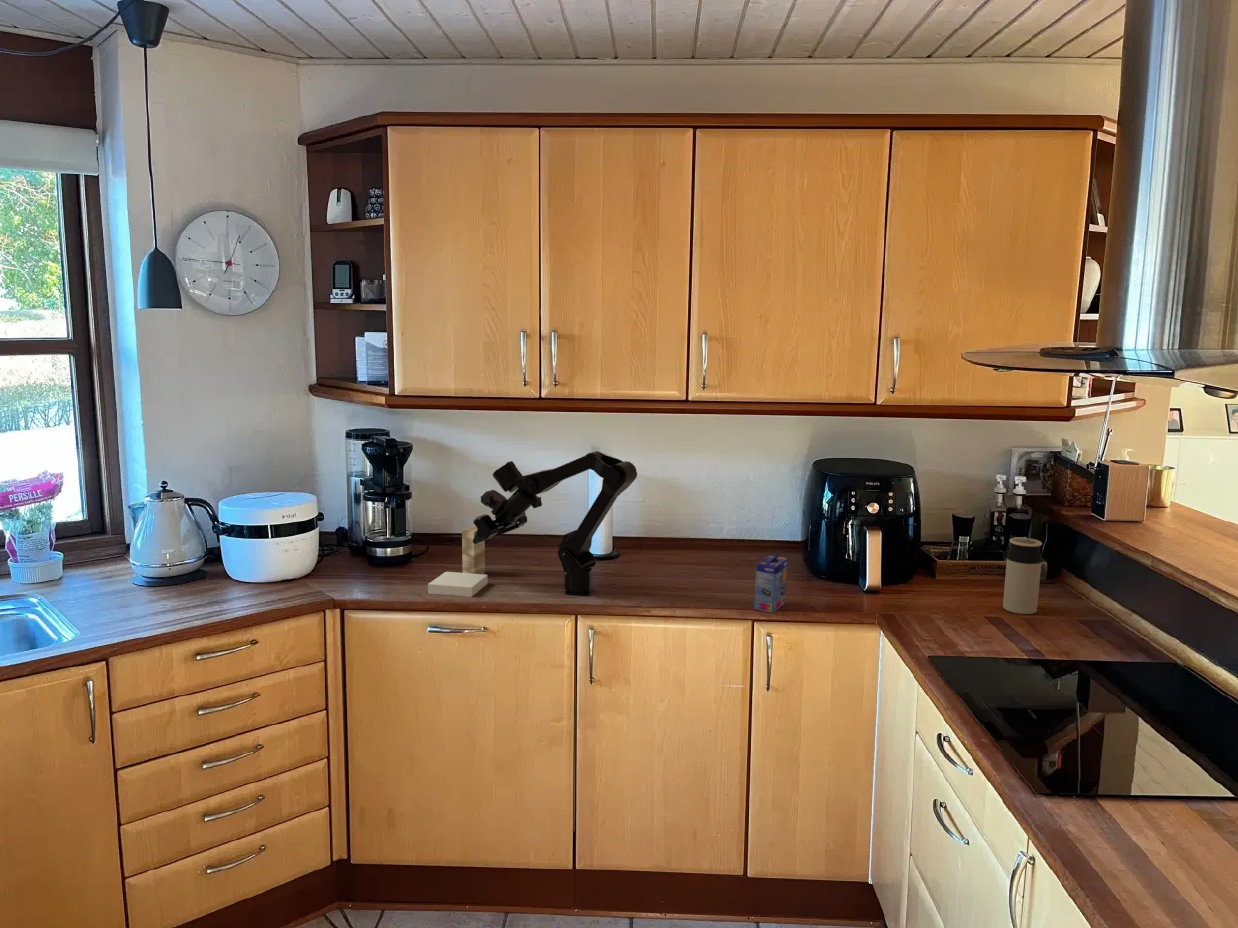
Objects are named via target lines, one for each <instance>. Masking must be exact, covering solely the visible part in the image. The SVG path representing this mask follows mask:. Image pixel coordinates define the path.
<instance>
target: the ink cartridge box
mask: <svg viewBox="0 0 1238 928" xmlns="http://www.w3.org/2000/svg"><path fill="white" fill-rule="evenodd" d="M781 553H782V551H781V550H780V551H778V552H777V553H776V554H775V555H767V556H766V557H765V558H764V559H762V560H760V561H759V562H757V563H756V573H755V587H754V588H755V590H754V602H753V603H754V604H753V610H756V611H760V612H765V613H770V614H774V613H775V612H776V611H777V610H779V609H780V608H781V607H782V606H783V605H785V604H786V603H785V601H786V600H785V599H786V591H787V590H786V589H787V579H788V563H789V558H787V557H782V556H780V554H781Z"/></svg>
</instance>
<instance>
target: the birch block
mask: <svg viewBox="0 0 1238 928" xmlns="http://www.w3.org/2000/svg"><path fill="white" fill-rule="evenodd" d="M476 532H477V527H476V526H475V525H474V526H473V525H472V526H469V527H467V528H463V529H461V541H462V542H461V544H462V547H461V548H462V549H461V552H462V553H461V554H462V558H461V559H462V560H461V561H462V573H471V574H485V573H486V565H485V564H486V563H485V562H486V561H485V559H486V557H485V555H486V554H485V553H486V550H485V549H486V548H485V547H486V546H485V543H486V542H485V541H486V540H484V541H482V542H479V543H477V544H474V543H473V539H474V536H475V534H476Z"/></svg>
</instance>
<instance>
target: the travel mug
mask: <svg viewBox="0 0 1238 928" xmlns="http://www.w3.org/2000/svg"><path fill="white" fill-rule="evenodd" d="M1009 543H1010V547H1009V549H1008V550H1007V554H1006V565H1005V567H1006V568H1005V579H1004V586H1003V587H1004V589H1003V600H1002V608H1003V609H1004V610H1005V611H1008V612H1010V613H1013V614H1018V615H1032V614H1036V613H1037V612H1038V603H1039V592H1040V582H1041V571H1042V559H1043V555H1042V552H1041V546H1042V545H1043V542H1042V541H1040V540H1038V539H1035V538H1028V537H1011V538H1009Z"/></svg>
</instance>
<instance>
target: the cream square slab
mask: <svg viewBox="0 0 1238 928" xmlns="http://www.w3.org/2000/svg"><path fill="white" fill-rule="evenodd" d="M488 578H489V577H488V574H485V573H483V574H471V573H463V572H455V571H445V572H443V573H442V574H440V575H439V576H438V577H436V578H435V579H433V580H431V582H429V583H427V592H428V594H430V595H440V596H441V595H442V596H453V595H454V596H456V597H469V598H472V597H474V596H475V595H476V594H477V593H478V592H479V591H480V590H482V589H483V588H484V587H486V586H487V585H488Z"/></svg>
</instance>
